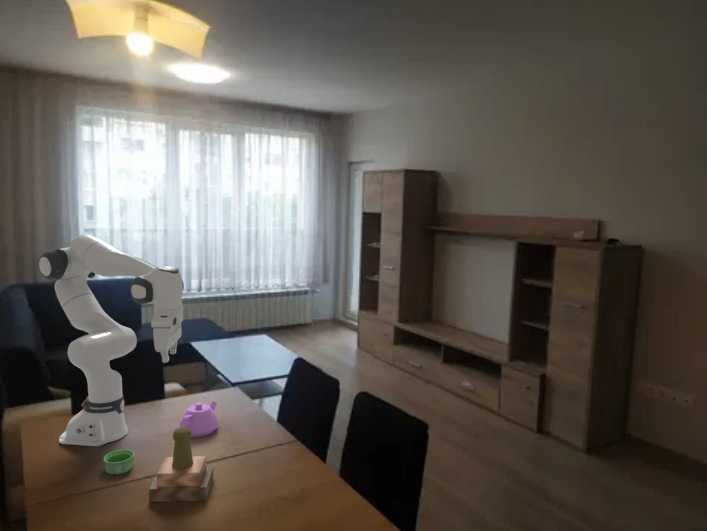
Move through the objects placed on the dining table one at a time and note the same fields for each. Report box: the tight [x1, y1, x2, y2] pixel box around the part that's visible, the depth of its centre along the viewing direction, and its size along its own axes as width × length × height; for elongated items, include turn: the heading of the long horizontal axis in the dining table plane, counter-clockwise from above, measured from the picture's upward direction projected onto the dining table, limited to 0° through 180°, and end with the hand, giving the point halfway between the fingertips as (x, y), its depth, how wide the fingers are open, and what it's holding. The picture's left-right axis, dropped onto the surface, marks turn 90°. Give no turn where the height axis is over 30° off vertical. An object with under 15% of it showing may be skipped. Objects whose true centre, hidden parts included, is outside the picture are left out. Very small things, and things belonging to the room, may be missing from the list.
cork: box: [172, 427, 193, 470], centre depth 151 cm, size 6×6×11 cm
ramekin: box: [103, 449, 135, 475], centre depth 164 cm, size 9×9×4 cm
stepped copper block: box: [148, 455, 214, 503], centre depth 152 cm, size 16×12×8 cm
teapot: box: [179, 400, 219, 438], centre depth 194 cm, size 14×20×11 cm
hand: (169, 357), depth 167 cm, fingers open, 8 cm apart
